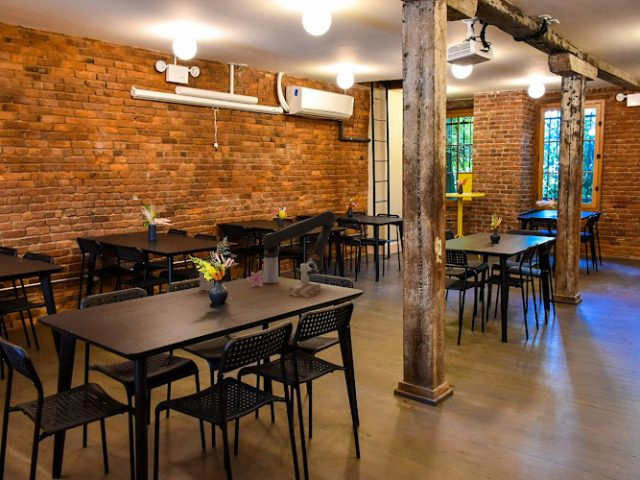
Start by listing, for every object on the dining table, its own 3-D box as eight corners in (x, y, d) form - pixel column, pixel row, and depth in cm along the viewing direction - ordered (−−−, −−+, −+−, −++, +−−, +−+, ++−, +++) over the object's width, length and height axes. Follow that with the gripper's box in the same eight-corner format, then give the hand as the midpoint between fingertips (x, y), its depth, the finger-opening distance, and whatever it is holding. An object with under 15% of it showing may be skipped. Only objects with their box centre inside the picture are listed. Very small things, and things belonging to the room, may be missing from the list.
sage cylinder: (299, 284, 357) (299, 264, 356) (303, 282, 362) (302, 263, 360) (306, 284, 355) (306, 265, 354) (310, 283, 360) (310, 263, 358)
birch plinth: (289, 295, 356) (289, 287, 356) (300, 290, 369) (300, 283, 368) (310, 297, 350) (310, 289, 350) (320, 292, 363) (320, 284, 362)
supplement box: (211, 291, 371) (210, 265, 369) (199, 290, 375) (198, 264, 373) (220, 288, 380) (219, 262, 377) (208, 287, 384) (207, 262, 381)
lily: (243, 287, 387) (244, 276, 382) (252, 277, 396) (253, 266, 391) (259, 294, 384) (260, 282, 378) (268, 284, 393) (269, 273, 387)
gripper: (298, 262, 373) (292, 266, 356) (320, 262, 370) (315, 267, 353) (298, 273, 374) (292, 279, 357) (321, 274, 371) (315, 279, 354)
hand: (303, 273), depth 355 cm, fingers closed on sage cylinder, 5 cm apart
